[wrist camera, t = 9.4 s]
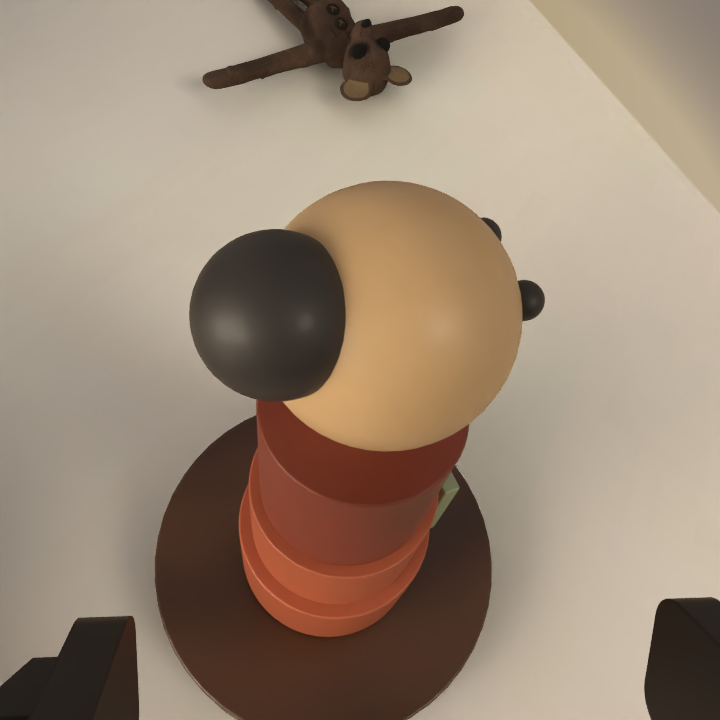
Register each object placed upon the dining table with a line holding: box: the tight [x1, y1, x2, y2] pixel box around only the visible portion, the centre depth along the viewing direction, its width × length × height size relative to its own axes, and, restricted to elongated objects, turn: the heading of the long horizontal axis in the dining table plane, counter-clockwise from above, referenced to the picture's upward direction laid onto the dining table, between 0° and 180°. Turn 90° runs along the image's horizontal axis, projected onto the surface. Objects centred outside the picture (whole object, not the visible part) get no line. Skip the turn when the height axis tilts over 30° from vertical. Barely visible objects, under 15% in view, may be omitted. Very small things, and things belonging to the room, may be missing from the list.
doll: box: [189, 181, 545, 637], centre depth 17 cm, size 6×6×16 cm
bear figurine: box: [203, 0, 464, 101], centre depth 41 cm, size 18×4×14 cm
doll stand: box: [155, 415, 492, 720], centre depth 25 cm, size 12×12×2 cm
